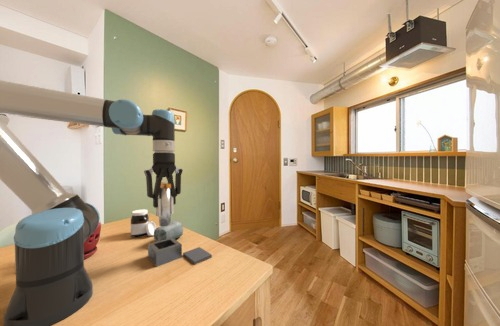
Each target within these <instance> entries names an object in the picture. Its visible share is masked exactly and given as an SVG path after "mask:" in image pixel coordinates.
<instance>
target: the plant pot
mask: <svg viewBox="0 0 500 326" xmlns="http://www.w3.org/2000/svg"><path fill="white" fill-rule="evenodd" d="M101 228H102V223H101V222H100V221H99V223H98V226H97V228H96V230H95V231H94V232H93V234H92V235H90V236H89V237H88V239H87V240H86V241H85V242H84V260H85V259H87V258H89V257H91V256H93V255H95V254H96V252H97V251H98V247H97V244H98V243H99V240H100V236H101V232H102V231H101Z"/></svg>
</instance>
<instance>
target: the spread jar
mask: <svg viewBox="0 0 500 326" xmlns="http://www.w3.org/2000/svg"><path fill="white" fill-rule="evenodd" d="M148 212H149V211H148V209H144V208H143V209H136V210H132V211H131V217H130V236H131V237H132V238H141V237H145V236H148V237H149V236H150V237H152V236H153V237H154V230H155V229H156V228H158V227H157V225H156V223H155V222H154V221H150V219H149V217H150V216H149V214H148Z"/></svg>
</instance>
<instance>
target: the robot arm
mask: <svg viewBox="0 0 500 326" xmlns="http://www.w3.org/2000/svg"><path fill="white" fill-rule="evenodd" d="M8 116H12V117H13V116H15V117H22V118H30V119H40V120H46V121H55V122H64V123H72V124H80V125H87V126H88V125H89V126H97V127H104V128H110V129H111V130H112V133H113V134H115V135H122V136H147V137H152V153H153V154H152V166H151V168H149V169H144V171H143V173H144V175H145V182H146V195H147V197H148V198H150V199H152V200H153V201H152V206H153V208H155V216H156V217H158V218H159V217H161V199H160V198H159V191H160V186H161V182H163V178H166V180H167V181H166V182H167V183H169V184H171V188H170V192H171V215H174V213H175V212H174V208H175V207H174V206H175V205H176V204H177V202H176V199H177V198H176V197H177V196H178V195H180V194H181V192H182V190H181V189H182V187H181V186H182V185H181V184H182V174H183V169H182V168H179V167H177V166H176V164H175V163H176V154H175V152H176V149H175V148H176V146H175V139H176V138H175V135H176V134H175V127H176V126H175V124H176V123H175V115H174V113H173V111H170V110H167V109H163V108H162V109H159V108H158V109H154V110H152V111H151V114H143V111H142V109H141V108H140V107H139V105H138V104H136V103H135V102H133V101H132V100H129V99H123V98H121V99H118V100H109V99H104V98H99V97H94V96H87V95H82V94H76V93H71V92H66V91H62V90H61V91H60V90H56V89H49V88H45V87H39V86H34V85H28V84H21V83H15V82H11V81H7V80H6V81H5V80H1V79H0V181H1V182H2V183H3V184H4V185H6V187H8V189H9V190H11V192H12V193H14V195H16V197H17V198H18V199H20V201H21V202H22V203H24V205H26V207H28V209H30V210H31V214H30V215H27V216H25V217H24V218H22V219H21V220H19V222H17V224H16V226H15V230H14V231H15V232H14V236H13V242H14V261H15V264H14V265H15V290H14V291H13V294H12V297H11V298H10V301H9V304H8V306H7V307H6V308H7V309H6V310H5V313H4V316H3V326H51V325H53V324H56V323H59V322H60V321H63V320H64V319H66V318H68V317H69V316H71V315H73V314H74V313H76V312H78V311H79V310H80V309H82V308H83V307H84V306H85V305H86V304H87V303H88V302H89V301H90V300H91V298H92V297H93V293H94V292H93V290H94V289H93V285H94V284H93V282H92V280H91V279H90V276H89V275H88V274H89V273H88V272H87V270H86V268H85V263H84V260H85V259H84V242H85V241H86V240H87V239H88V237H89V236H90V235H92V234H93V232H94V231H95V230H96V228H97V226H98V223H99V222H100V219H101V217H100V213H99V211H98V208H97V207H95V206H94V205H93V204H91V203H88V202H85V201H84V200H83V199H82V198H81V197H80V196H79V194H77V193H74V192H73V193H71V192H68V191H67V190H66V189H65V188H64V187H63V186H62V185H61V184H60V183H59V181H57V180H56V178H55V177H54V176H53V175H52V174H51V173H50V172H49V171H48V170H47V168H45V166H44V165H43V164H42V163H41V162H40V161H39V160H38V158H37V157H36V156H34V154H33V153H32V152H31V151H30V150H29V149H28V148H27V146H26V145H25V144H23V142H22V141H21V140H20V139H19V137H17V136H16V134H14V132H12V130H11V129H10V128H9V127H8V124H9V122H10V118H9V117H8ZM174 173H175V175H174V176H173V174H174ZM153 174H155V175H156V176H155V183H154V189H153V176H152V175H153ZM174 177H175V181H174Z"/></svg>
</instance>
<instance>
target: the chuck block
mask: <svg viewBox="0 0 500 326" xmlns="http://www.w3.org/2000/svg"><path fill="white" fill-rule="evenodd" d="M147 249H148V250H147V258H148V259H149V260H150V261H151V262H152V263H153V265H154V266H155V267H156V268H157V267H160V266H162V265H166V264H167V263H171V262H173V261H176V260H179V259H181V258H183V251H182V250H183V247H182V243H181V242H179V241H178V240H176V239H174V238H172V237H171V238H168V239H164V240H161V241H157V242H156V241H154V242H150V243H147Z"/></svg>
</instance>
